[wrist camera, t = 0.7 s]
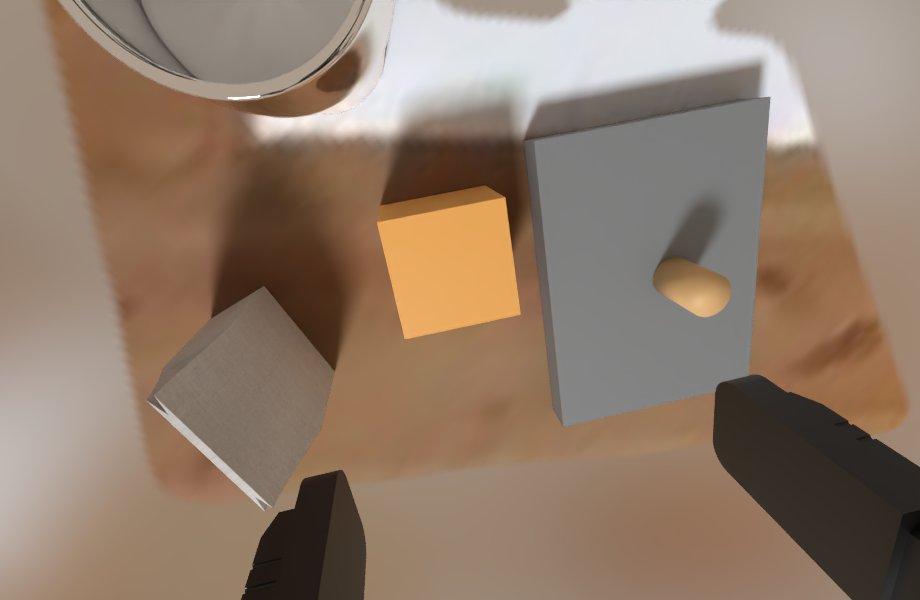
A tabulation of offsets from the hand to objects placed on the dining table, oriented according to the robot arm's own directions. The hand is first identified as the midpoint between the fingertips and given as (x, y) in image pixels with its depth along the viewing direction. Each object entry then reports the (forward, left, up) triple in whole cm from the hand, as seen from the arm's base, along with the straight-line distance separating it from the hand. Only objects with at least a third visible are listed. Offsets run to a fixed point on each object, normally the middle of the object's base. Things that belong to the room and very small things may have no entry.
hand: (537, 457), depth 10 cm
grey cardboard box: (+4, -11, -19) cm, 22 cm away
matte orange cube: (0, 0, -18) cm, 18 cm away
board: (+4, +12, -18) cm, 22 cm away
